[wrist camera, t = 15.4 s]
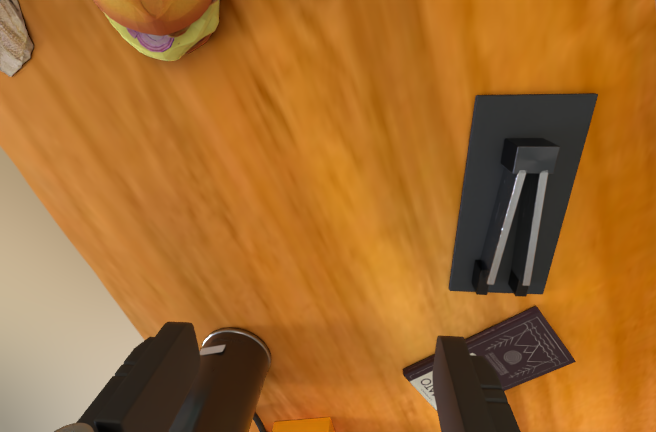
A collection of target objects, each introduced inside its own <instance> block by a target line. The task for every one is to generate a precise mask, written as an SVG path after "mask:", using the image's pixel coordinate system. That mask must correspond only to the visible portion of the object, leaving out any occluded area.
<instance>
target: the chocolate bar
mask: <svg viewBox="0 0 656 432" xmlns="http://www.w3.org/2000/svg"><path fill="white" fill-rule="evenodd" d="M465 341H466V344H467V347H468V350H469V353H470V355H476V356H483V357H484V358H485V359H486V360H487V361H488V363H489V364H490V365H491V366H492V367H493V368H494V369H495V371H496V373H497V375H498V378H499V380H500V383H501V385H502V390H504V391H505V390H507V389H510V388H512V387H515V386H517V385H519V384H522V383H524V382H527V381H529V380H532V379H534V378H537V377H539V376H542V375H544V374H546V373H549V372H551V371H554V370H556V369H559V368H561V367H564V366H566V365H569V364H571V363H574V362H576V361H575V360H574V358H573V357H572V356H571V354H570V353H569V351H568V350H567V349H566V347H565V346H564V344H563V343H562V342H561V340H560V339H559V337H558V336H557V335H556V333H555V332H554V330H553V329H552V328H551V326H550V325H549V323H548V322H547V321H546V319H545V318H544V316H543V315H542V314H541V312H540V311H539V309H538V308H537V307H536V306H535V307H533V308H531V309H529V310H527V311H524V312H522V313H520V314H518V315H516V316H514V317H512V318H510V319H508V320H506V321H503V322H501V323H499V324H497V325H495V326H493V327H491V328H489V329H487V330H485V331H482V332H480V333H478V334H476V335H474V336H472V337H470V338H468V339H466V340H465ZM434 357H435V354H434V355H432V356H430V357H428V358H426V359H424V360H422V361H419V362H417V363H415V364H413V365H411V366H409V367H407V368H405V369H403V375H404V376H405V378H406V379H407V380H408V381H409V382H410V383H411V384H412V385H413V386H414V387H415V388H416V389H417V390H418V391H419V392H420V394H421V395H422V396H423V397H424V398H425V399H426V400H427V401H428V402H429V403H430V404H431V405H432V406H433V407H434V408H435V409H436V411H437V406H436V401H435V396H434V391H433V378H432V375H433V365H434ZM437 412H438V411H437Z"/></svg>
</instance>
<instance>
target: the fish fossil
mask: <svg viewBox="0 0 656 432" xmlns="http://www.w3.org/2000/svg"><path fill="white" fill-rule="evenodd" d="M32 50H33V44H32V42H31V40H30V38H29V36H28V34H27V30H26V28H25V24H24V20H23V17H22V13H21V11H20V7H19V4H18V2H17V0H0V71H2V72H4V73H6V74H7V75H8V76H12V75H13V74H14V73H15V72H16V71H17V70H18V69H20V68H21V65H22V64H23V63H24V62H26V61H27V60H28V59H30V53H31V51H32Z"/></svg>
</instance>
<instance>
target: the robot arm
mask: <svg viewBox="0 0 656 432" xmlns="http://www.w3.org/2000/svg"><path fill="white" fill-rule="evenodd" d="M270 364H271V355H270V352H269V349H268V348H267V346H266V345H265V343H264V342H263V341H262V340H261V339H260V338H258V337H257V336H256V335H254V334H252V333H250V332H248V331H245V330H242V329H237V328H223V329H219V330H216V331H214V332H212V333H211V334H209V335H208V336H207V338H206V339H205V341H204V343H203V345H202V348H201V350H200V351H199V348H198V343H197V339H196V335H195V331H194V327H193V325H192V323H186V322H167V323H165V324H164V326H163V327H162V328H161V330H160V331H159V332H158V334H157V335H156V336H155V337H149V338H148V339H146V340H145V341H144V342H142V343H141V344H140V345H138V346H137V347H136V348H134V350H133V351H132V352H131V354H130V355H129V356H128V357H127V359H126V360H125V361H124V364H123V365H121V366H120V368H119V369H118V370H117V372H116V373H115V376H113V377H112V378H111V379H110V380H109V382H108V383H107V384H106V386H105V387H104V388H103V390H102V391H101V392H100V393H99V395H98V396H97V397H96V398H95V400H94V401H93V402H92V404H91V405H90V406H89V407H88V409H87V410H86V411H85V413H84V414H83V415H82V416H81V418H80V419H79V420H78V421H77V422H76V423H73V424H69V425H66V426H64V427H62V428H60V429H58V430H56V431H54V432H249V429H250V425H251V422H252V419H253V420H254V421H255V423H256V425H257V427H258V429H259V431H260V432H266V430H265V428H264V426H263V423H262V422H261V420H260V418H259V417H258V415H257V414H256V413H255V409H256V406H257V403H258V400H259V397H260V393H261V390H262V387H263V384H264V381H265V378H266V374H267V372H268V370H269V367H270ZM432 378H433V391H434V396H435V401H436V406H437V411H438V416H439V421H440V426H441V431H442V432H520V430H519V427H518V425H517V422H516V420H515V417H514V415H513V412H512V410H511V407H510V405H509V404H508V402H507V398H506V395H505V393H504V390H502V385H501V383H500V380H499V378H498V375H497V373H496V371H495V369H494V368H493V367H492V366H491V365H490V364H489V363H488V361H487V360H486V359H485V358H484V357H483V356H476V355H470V353H469V350H468V347H467V344H466V341H465V339H464V338H463V337H453V336H438V337H437V343H436V350H435V357H434V365H433V375H432Z"/></svg>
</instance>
